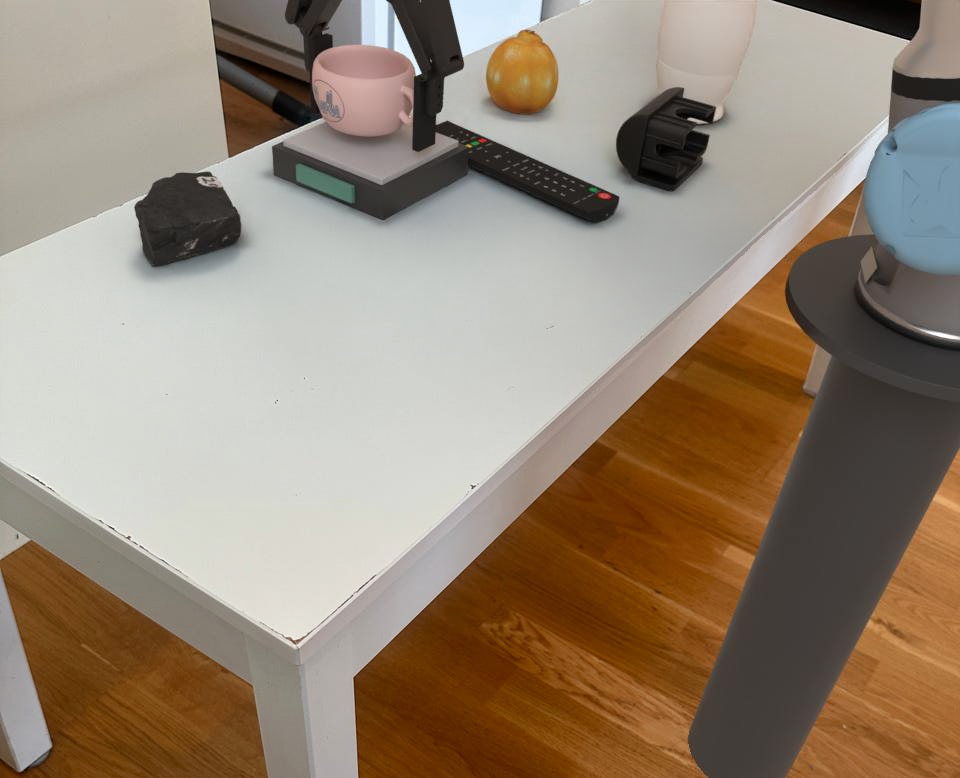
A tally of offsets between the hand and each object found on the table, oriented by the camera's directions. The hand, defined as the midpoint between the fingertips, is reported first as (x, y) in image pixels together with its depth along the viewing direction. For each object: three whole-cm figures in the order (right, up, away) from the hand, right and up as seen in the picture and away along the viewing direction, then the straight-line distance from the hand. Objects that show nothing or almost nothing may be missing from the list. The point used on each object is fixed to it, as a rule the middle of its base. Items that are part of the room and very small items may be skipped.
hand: (372, 127), depth 100 cm
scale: (0, -3, +3) cm, 5 cm away
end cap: (+30, 0, +10) cm, 32 cm away
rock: (-15, -16, -9) cm, 24 cm away
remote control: (+14, -3, +6) cm, 15 cm away
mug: (0, 0, 0) cm, 0 cm away
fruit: (+15, +11, +18) cm, 26 cm away
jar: (+35, +13, +21) cm, 43 cm away
